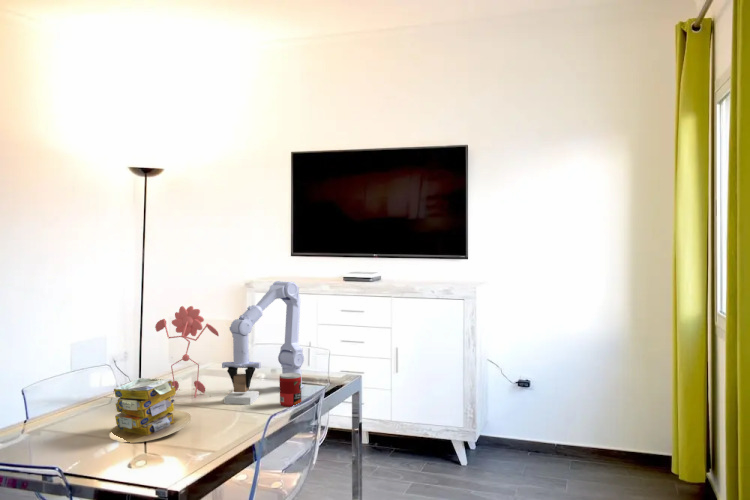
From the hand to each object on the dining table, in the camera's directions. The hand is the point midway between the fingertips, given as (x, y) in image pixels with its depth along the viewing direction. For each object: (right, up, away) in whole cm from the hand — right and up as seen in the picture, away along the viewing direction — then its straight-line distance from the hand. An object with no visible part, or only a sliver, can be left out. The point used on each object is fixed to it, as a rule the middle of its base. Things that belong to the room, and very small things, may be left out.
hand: (241, 387), depth 243 cm
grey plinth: (0, -5, 0) cm, 5 cm away
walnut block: (0, -1, 0) cm, 1 cm away
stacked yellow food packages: (-21, -6, -38) cm, 44 cm away
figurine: (-23, -6, +13) cm, 27 cm away
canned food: (+19, -5, -6) cm, 21 cm away
